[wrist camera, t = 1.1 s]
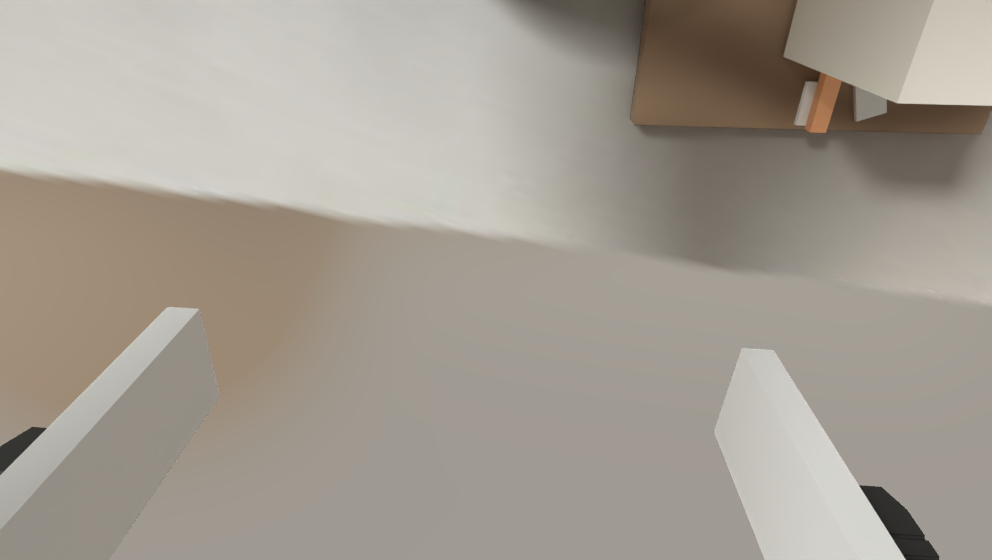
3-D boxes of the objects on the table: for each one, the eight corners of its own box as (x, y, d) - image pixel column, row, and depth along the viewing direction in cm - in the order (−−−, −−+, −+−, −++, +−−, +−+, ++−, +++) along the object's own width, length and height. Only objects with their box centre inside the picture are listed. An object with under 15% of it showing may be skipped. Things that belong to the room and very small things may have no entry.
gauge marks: (864, -132, 27) (867, -133, 27) (1089, -129, 27) (1095, -130, 27) (793, 124, 33) (795, 125, 33) (977, 129, 33) (981, 130, 33)
